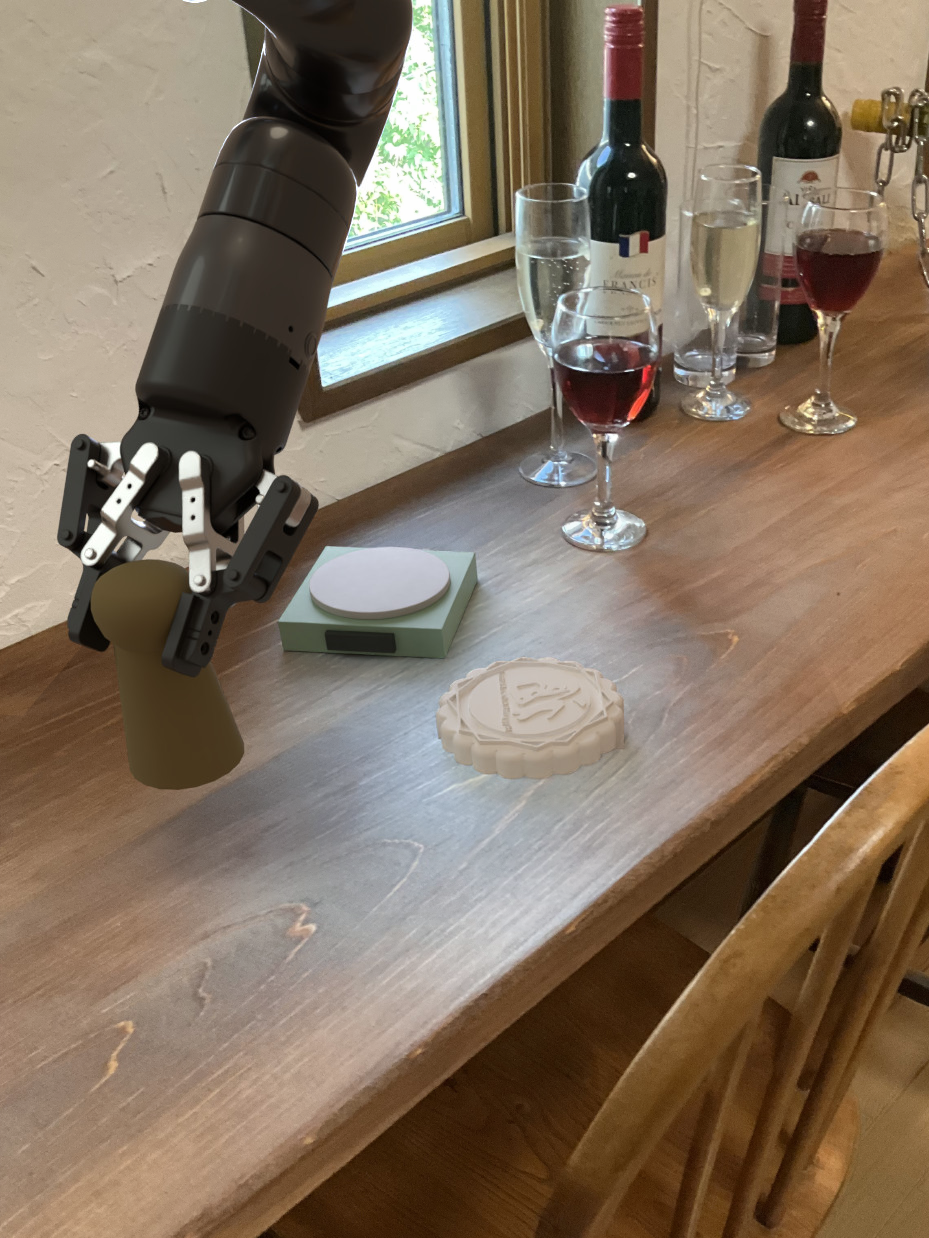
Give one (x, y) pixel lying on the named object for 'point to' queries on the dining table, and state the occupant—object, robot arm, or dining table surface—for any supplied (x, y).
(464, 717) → the mooncake
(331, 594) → the scale
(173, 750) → the cork
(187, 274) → the robot arm
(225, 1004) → the dining table surface
